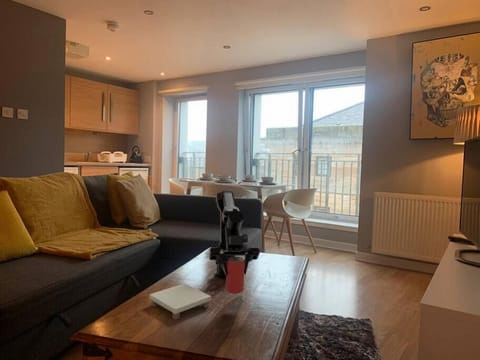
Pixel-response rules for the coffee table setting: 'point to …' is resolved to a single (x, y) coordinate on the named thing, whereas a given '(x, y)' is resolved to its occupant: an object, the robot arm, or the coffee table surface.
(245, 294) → the coffee table surface
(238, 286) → the beer can
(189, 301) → the white square platform
